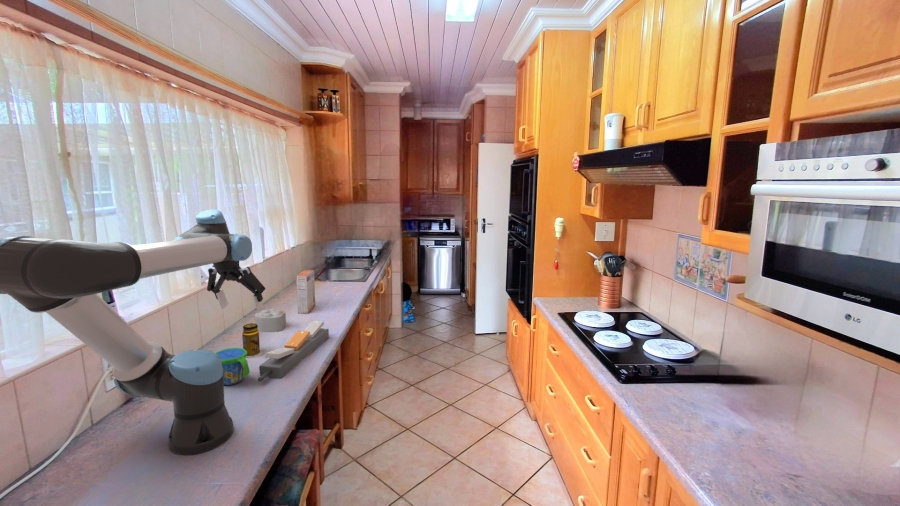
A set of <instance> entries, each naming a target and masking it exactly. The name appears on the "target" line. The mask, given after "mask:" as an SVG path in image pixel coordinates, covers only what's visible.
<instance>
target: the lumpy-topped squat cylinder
mask: <svg viewBox="0 0 900 506" xmlns="http://www.w3.org/2000/svg"><path fill="white" fill-rule="evenodd" d="M286 316H287V315H286V311H284V310H282V309H276V308H270V309H263V310H262V309H261V310H260V312H256V313H255V314H254V323H255V324H257V325H258V331H259V333H278V332H282V331H283V330H284V329H285V328H286V326H287V322H286V321H287V317H286Z"/></svg>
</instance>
